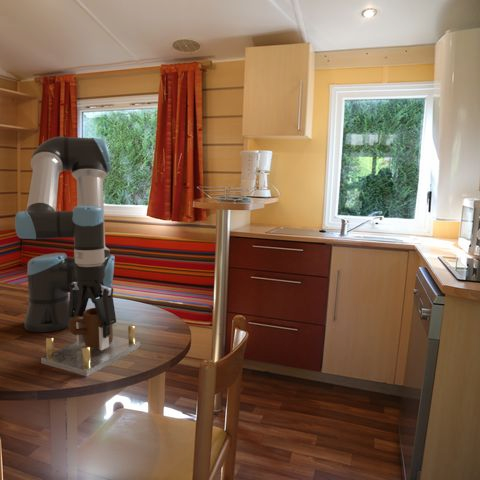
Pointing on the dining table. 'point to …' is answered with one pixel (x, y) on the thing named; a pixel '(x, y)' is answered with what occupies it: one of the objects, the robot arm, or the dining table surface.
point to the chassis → (89, 354)
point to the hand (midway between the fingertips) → (92, 345)
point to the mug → (89, 328)
